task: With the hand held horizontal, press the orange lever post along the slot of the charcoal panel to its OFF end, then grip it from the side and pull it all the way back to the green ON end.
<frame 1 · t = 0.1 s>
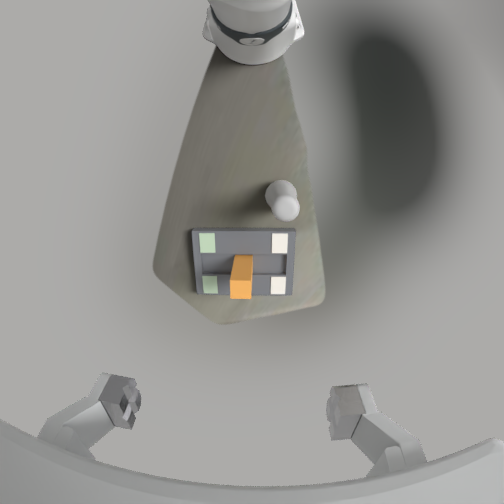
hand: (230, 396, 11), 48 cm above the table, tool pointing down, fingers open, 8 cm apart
salt shaker: (280, 192, 56), on the table
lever: (242, 275, 55), point 7 cm above the table, slide at 0.0 cm
panel: (244, 260, 61), on the table
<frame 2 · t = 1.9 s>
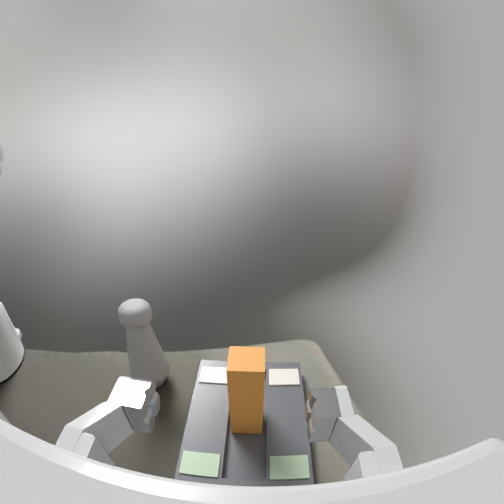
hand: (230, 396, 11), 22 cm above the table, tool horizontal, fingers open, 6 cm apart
salt shaker: (152, 379, 38), on the table
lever: (246, 394, 29), point 7 cm above the table, slide at 0.0 cm
panel: (247, 426, 32), on the table
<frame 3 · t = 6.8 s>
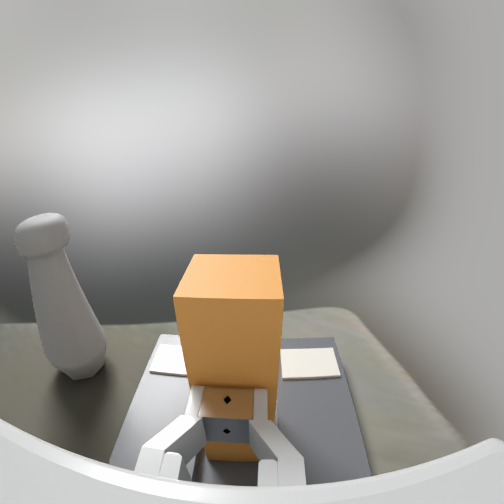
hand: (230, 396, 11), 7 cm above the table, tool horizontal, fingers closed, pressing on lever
salt shaker: (83, 366, 21), on the table
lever: (236, 378, 13), point 7 cm above the table, slide at 1.2 cm, touching gripper
panel: (239, 462, 14), on the table
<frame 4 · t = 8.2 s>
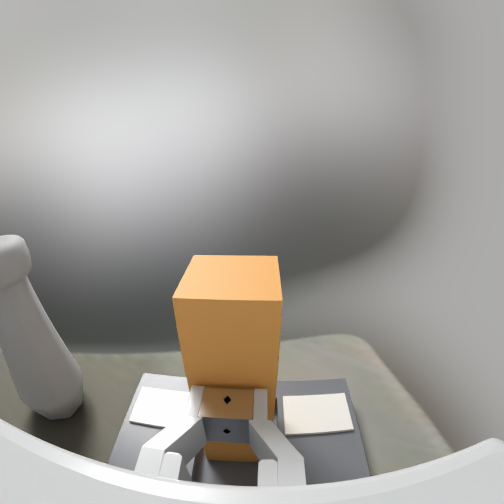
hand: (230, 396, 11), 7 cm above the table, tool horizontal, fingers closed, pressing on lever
salt shaker: (61, 402, 17), on the table
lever: (235, 379, 13), point 7 cm above the table, slide at 5.9 cm, touching gripper
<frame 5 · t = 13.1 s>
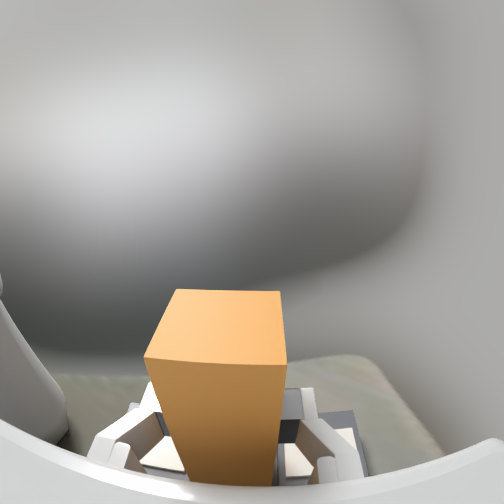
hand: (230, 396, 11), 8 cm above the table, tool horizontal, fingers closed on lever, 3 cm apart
salt shaker: (46, 428, 14), on the table
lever: (230, 427, 10), point 7 cm above the table, slide at 5.9 cm, touching gripper
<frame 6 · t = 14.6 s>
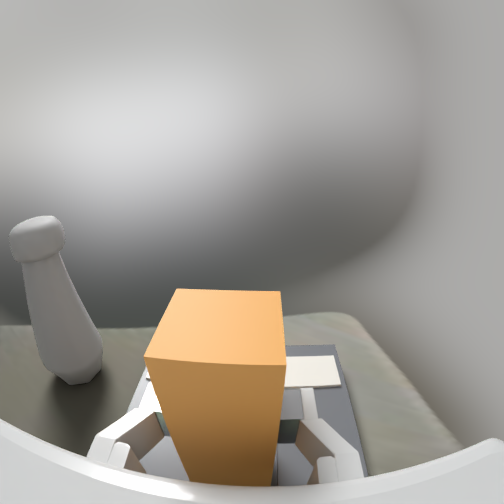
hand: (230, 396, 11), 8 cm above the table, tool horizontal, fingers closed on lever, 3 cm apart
salt shaker: (80, 370, 21), on the table
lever: (229, 427, 10), point 7 cm above the table, slide at -0.8 cm, touching gripper
panel: (236, 472, 14), on the table
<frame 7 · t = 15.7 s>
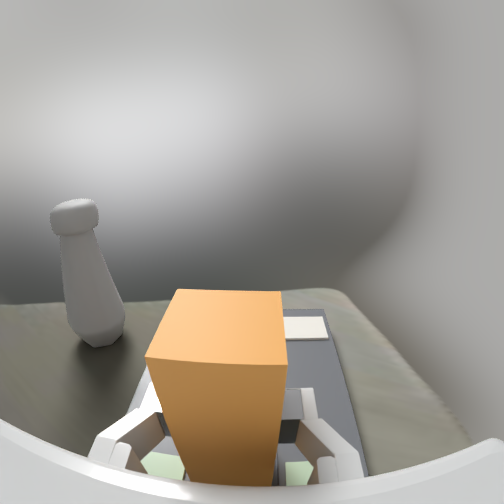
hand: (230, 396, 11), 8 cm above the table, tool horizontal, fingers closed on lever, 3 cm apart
salt shaker: (103, 336, 25), on the table
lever: (230, 427, 10), point 7 cm above the table, slide at -6.0 cm, touching gripper
panel: (242, 409, 18), on the table
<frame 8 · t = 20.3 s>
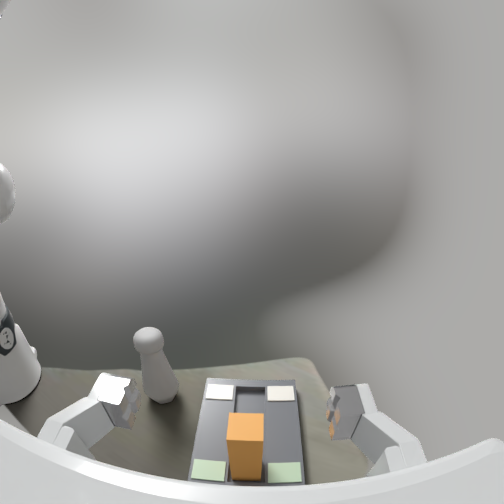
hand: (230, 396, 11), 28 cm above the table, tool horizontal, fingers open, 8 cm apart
salt shaker: (163, 395, 42), on the table
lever: (246, 451, 27), point 7 cm above the table, slide at -6.1 cm
panel: (248, 437, 36), on the table
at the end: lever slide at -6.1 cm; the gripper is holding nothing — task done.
